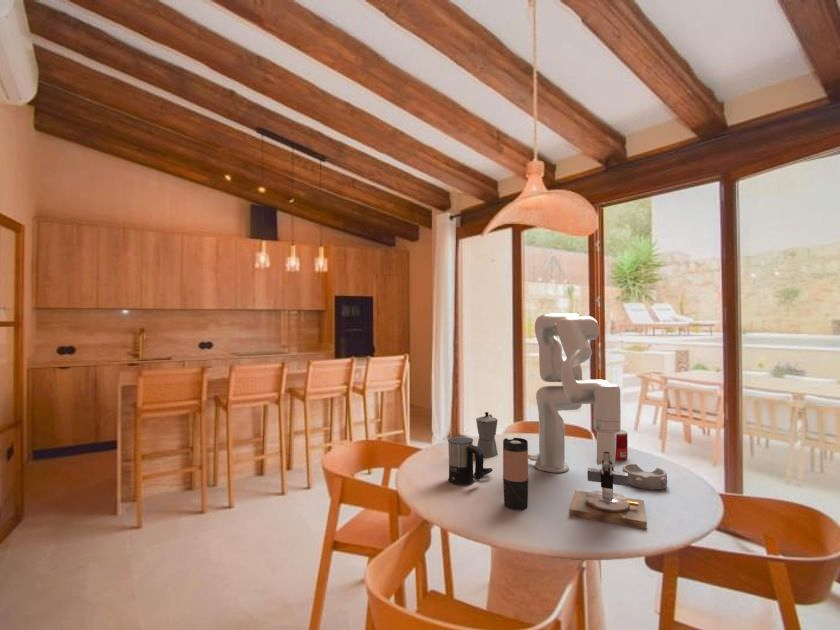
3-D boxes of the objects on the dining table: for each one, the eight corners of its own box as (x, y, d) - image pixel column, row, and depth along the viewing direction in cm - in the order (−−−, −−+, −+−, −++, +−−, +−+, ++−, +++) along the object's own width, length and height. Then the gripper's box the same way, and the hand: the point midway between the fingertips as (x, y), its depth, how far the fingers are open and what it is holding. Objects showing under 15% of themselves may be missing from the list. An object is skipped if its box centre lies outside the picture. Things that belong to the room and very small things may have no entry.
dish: (620, 475, 165) (620, 461, 165) (662, 479, 160) (662, 465, 160) (625, 489, 151) (625, 474, 151) (671, 494, 146) (671, 478, 147)
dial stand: (569, 516, 129) (569, 508, 129) (575, 496, 144) (575, 489, 144) (646, 529, 121) (646, 521, 121) (644, 506, 136) (644, 499, 136)
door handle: (584, 507, 130) (584, 475, 130) (587, 493, 141) (587, 463, 141) (638, 516, 124) (638, 482, 124) (637, 500, 135) (637, 469, 135)
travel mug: (523, 512, 132) (523, 445, 132) (499, 507, 136) (499, 441, 136) (531, 503, 138) (531, 439, 139) (508, 498, 143) (508, 436, 143)
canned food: (628, 456, 186) (628, 430, 186) (626, 461, 179) (625, 434, 179) (609, 453, 190) (609, 428, 190) (605, 458, 183) (605, 432, 184)
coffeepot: (494, 459, 183) (494, 415, 183) (472, 457, 186) (472, 414, 186) (501, 449, 197) (501, 409, 197) (481, 447, 200) (480, 407, 201)
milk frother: (443, 483, 156) (443, 441, 156) (459, 469, 170) (459, 431, 171) (482, 490, 150) (482, 445, 150) (495, 475, 164) (495, 435, 165)
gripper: (595, 418, 143) (595, 471, 142) (591, 430, 127) (592, 490, 127) (620, 420, 139) (621, 475, 139) (620, 433, 124) (621, 494, 124)
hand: (607, 482), depth 133 cm, fingers open, 9 cm apart
